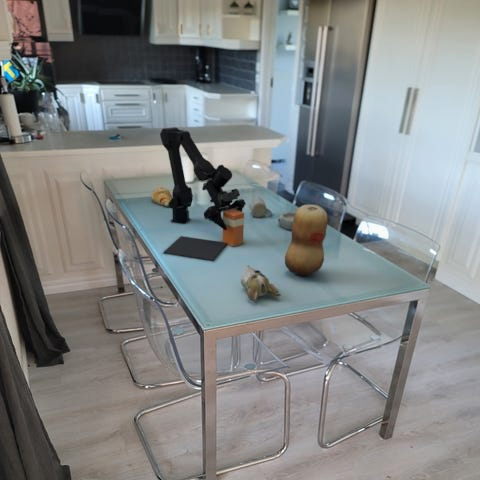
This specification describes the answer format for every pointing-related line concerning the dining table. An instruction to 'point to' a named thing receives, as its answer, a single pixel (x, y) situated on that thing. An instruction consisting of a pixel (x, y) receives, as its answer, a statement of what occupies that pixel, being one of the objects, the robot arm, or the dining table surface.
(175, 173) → the robot arm
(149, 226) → the dining table surface
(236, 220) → the packet
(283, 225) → the dish
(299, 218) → the butternut squash
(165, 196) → the croissant
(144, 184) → the dining table surface
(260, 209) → the ceramic mug
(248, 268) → the ceramic sculpture
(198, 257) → the mat
